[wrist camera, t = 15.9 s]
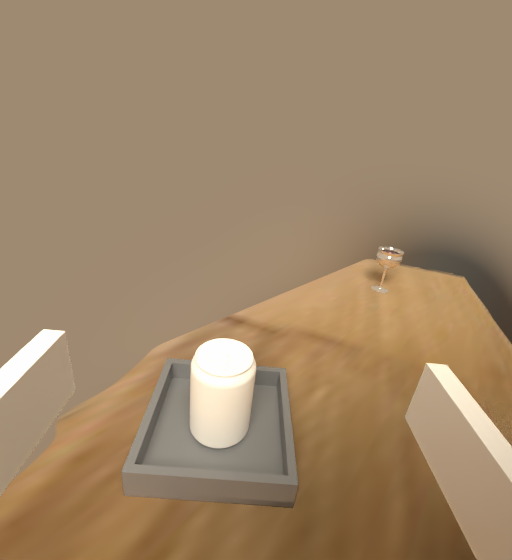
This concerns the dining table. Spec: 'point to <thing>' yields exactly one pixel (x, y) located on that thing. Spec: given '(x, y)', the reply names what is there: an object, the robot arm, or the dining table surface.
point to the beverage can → (221, 392)
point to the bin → (214, 461)
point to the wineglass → (387, 263)
